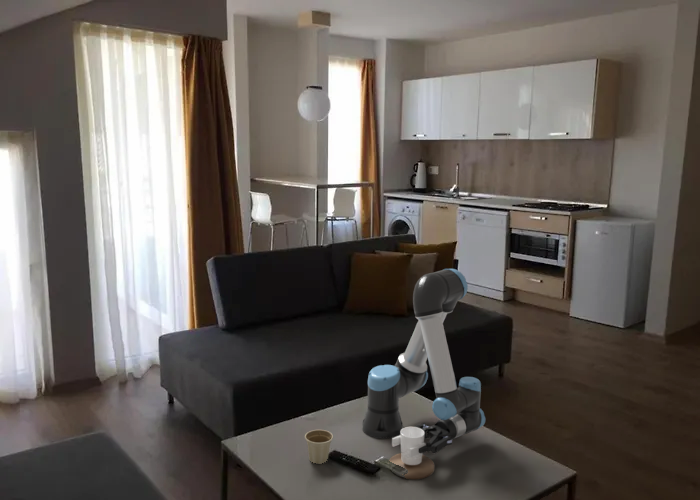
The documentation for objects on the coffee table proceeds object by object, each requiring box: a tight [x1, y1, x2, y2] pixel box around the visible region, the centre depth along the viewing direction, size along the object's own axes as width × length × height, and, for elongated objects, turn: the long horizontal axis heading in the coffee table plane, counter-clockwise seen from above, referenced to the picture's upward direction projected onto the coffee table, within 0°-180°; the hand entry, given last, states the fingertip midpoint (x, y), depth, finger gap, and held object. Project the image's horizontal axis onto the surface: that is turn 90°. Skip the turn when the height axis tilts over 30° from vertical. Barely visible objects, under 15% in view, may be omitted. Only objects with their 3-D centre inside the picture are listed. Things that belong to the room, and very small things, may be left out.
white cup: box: [400, 426, 425, 465], centre depth 198 cm, size 8×8×10 cm
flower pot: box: [304, 429, 334, 465], centre depth 202 cm, size 9×9×9 cm
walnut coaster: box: [388, 452, 435, 480], centre depth 199 cm, size 15×15×1 cm
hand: (401, 447), depth 195 cm, fingers closed on white cup, 8 cm apart
